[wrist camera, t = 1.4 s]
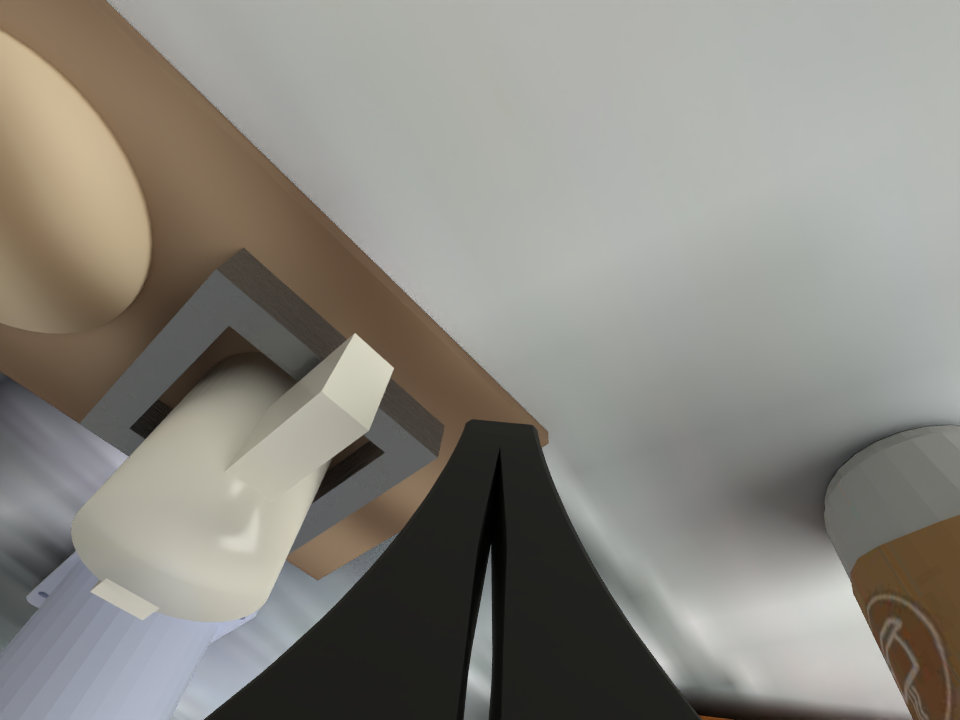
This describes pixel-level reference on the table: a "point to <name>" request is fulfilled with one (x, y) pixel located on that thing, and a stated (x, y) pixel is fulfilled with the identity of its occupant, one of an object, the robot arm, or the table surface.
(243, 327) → the socket
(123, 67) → the board
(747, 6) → the table surface
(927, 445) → the coffee cup
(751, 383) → the table surface
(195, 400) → the cream tapered cylinder
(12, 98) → the coaster
